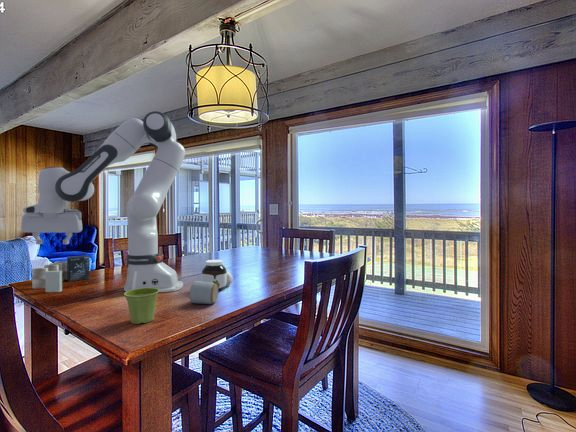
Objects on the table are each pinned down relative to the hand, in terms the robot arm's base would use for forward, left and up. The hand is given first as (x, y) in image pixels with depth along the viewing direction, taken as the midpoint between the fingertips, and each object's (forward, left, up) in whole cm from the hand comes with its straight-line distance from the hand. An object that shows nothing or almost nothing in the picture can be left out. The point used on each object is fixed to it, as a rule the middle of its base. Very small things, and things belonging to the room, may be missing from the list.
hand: (52, 244), depth 122 cm
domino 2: (+8, -14, -19) cm, 25 cm away
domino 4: (0, 0, -19) cm, 19 cm away
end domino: (+8, -22, -19) cm, 30 cm away
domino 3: (+8, -18, -19) cm, 27 cm away
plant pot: (-44, +37, -19) cm, 61 cm away
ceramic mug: (-60, +20, -19) cm, 66 cm away
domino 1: (+8, -6, -19) cm, 21 cm away
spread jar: (-63, +2, -19) cm, 66 cm away
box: (+1, -21, -19) cm, 28 cm away
